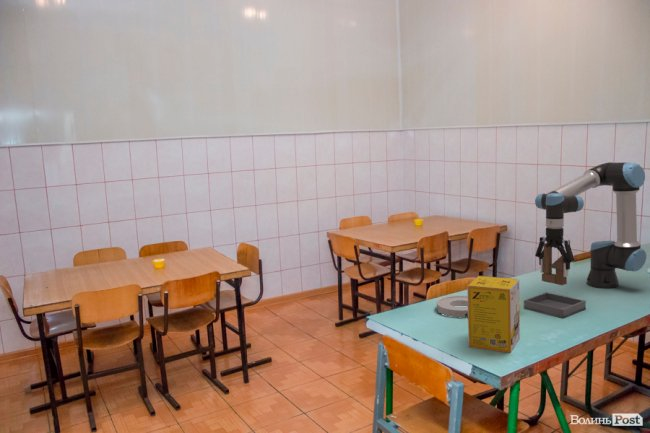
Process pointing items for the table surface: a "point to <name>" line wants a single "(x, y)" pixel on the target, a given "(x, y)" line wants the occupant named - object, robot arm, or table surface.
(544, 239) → the robot arm
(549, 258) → the brown round-handled part
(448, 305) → the ashtray
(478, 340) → the packaging box
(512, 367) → the table surface
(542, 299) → the tray
